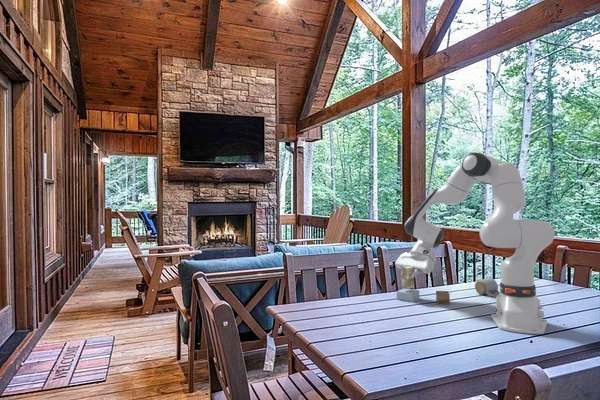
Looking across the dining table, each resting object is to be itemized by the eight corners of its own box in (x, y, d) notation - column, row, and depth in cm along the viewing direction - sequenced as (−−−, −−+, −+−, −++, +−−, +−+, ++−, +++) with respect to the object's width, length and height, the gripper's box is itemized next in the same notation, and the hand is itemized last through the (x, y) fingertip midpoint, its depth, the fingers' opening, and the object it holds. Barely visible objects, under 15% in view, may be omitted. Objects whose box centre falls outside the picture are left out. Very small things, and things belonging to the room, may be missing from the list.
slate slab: (412, 302, 175) (412, 293, 175) (396, 299, 180) (396, 291, 180) (419, 298, 181) (419, 290, 181) (403, 296, 186) (403, 288, 186)
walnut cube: (449, 304, 169) (449, 293, 169) (438, 304, 170) (437, 293, 170) (447, 301, 174) (447, 291, 174) (436, 301, 175) (436, 290, 175)
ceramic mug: (473, 293, 188) (473, 278, 188) (486, 291, 191) (486, 276, 191) (490, 298, 178) (490, 282, 178) (503, 296, 181) (503, 280, 181)
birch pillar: (414, 287, 180) (413, 267, 180) (408, 288, 178) (407, 267, 178) (407, 286, 184) (406, 265, 184) (401, 287, 181) (401, 266, 182)
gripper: (400, 248, 193) (387, 269, 188) (433, 252, 176) (420, 275, 171) (406, 256, 196) (393, 277, 190) (439, 260, 179) (427, 284, 173)
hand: (406, 276), depth 181 cm, fingers closed on birch pillar, 4 cm apart
